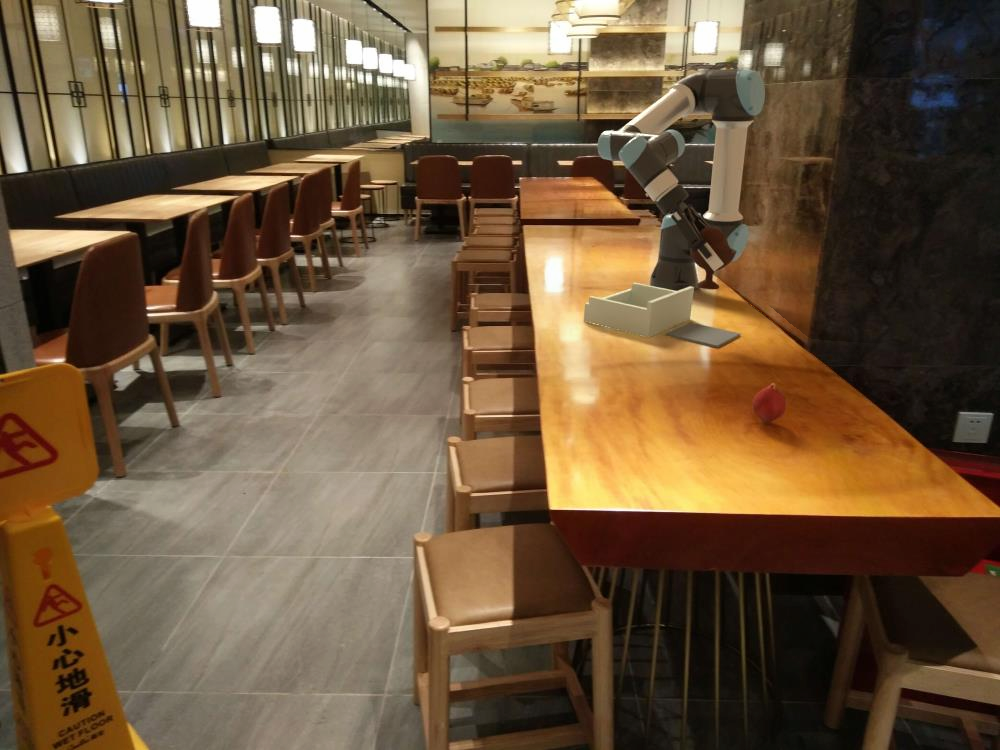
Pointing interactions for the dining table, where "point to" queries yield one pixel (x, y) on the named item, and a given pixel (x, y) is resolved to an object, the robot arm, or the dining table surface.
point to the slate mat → (703, 334)
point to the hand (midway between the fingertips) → (723, 263)
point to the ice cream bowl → (720, 247)
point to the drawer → (641, 309)
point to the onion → (769, 404)
